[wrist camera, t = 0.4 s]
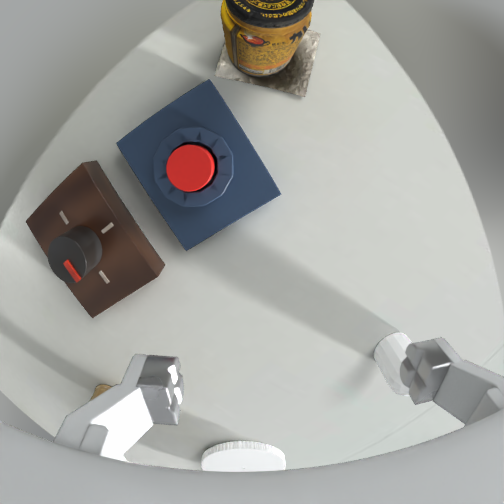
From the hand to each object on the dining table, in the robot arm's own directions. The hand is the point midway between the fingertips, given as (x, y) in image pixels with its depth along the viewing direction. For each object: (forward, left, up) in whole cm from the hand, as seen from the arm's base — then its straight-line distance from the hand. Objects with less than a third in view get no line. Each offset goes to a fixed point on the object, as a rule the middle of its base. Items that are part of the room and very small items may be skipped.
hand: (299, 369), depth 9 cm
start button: (-8, -2, -17) cm, 19 cm away
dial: (-8, -16, -17) cm, 25 cm away
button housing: (-8, -2, -20) cm, 22 cm away
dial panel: (-8, -16, -20) cm, 27 cm away
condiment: (-14, +9, -21) cm, 26 cm away
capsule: (+23, +6, -21) cm, 32 cm away
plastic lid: (+33, -23, -21) cm, 45 cm away
